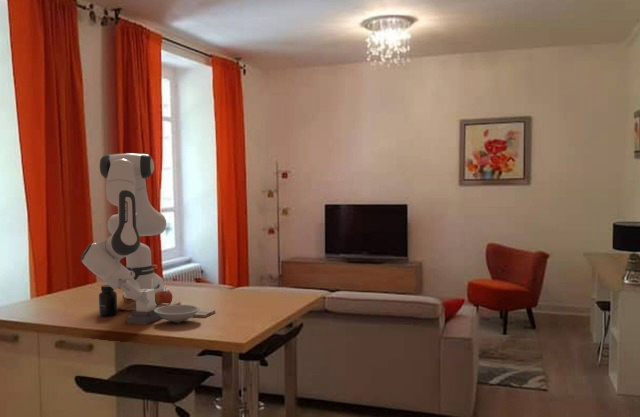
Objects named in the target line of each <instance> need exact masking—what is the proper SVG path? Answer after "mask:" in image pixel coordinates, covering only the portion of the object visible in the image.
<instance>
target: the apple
mask: <svg viewBox="0 0 640 417" xmlns="http://www.w3.org/2000/svg"><path fill="white" fill-rule="evenodd" d="M164 288H165V291H160V292H157V293H156V294H155V306H156V305H158V304H159V305H161V304H162V303H170V305H172V301H173V293H172V292H171V291H166V288H167V287H164Z"/></svg>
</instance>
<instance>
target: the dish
mask: <svg viewBox="0 0 640 417" xmlns="http://www.w3.org/2000/svg"><path fill="white" fill-rule="evenodd" d="M200 309H201V308H200V307H199V306H197V305H192V304H170V305H169V306H162V307H159V308H156V309H155V310H154V312H155V313H157V314H158V315H159V316H160V317H161V318H160V319H163V320H165V321H169V322H174V323H176V324H178V323H181V322H183V321H187V320H189V319H191V318H193V317H192V316H194V315H195V314H196V312H197V311H199V310H200Z"/></svg>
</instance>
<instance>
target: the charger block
mask: <svg viewBox="0 0 640 417" xmlns="http://www.w3.org/2000/svg"><path fill="white" fill-rule="evenodd" d="M141 292H142V295H143V296H144V297H145V298H147V299H148V300H149V303H148V304H147V305H146V304H144V303H143V302H141V301H140V300H137V301H135V307H136V308H135V310H136V311H140V312H149V311H152V310H154V309H155V306H156V303H155V289H141Z"/></svg>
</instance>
